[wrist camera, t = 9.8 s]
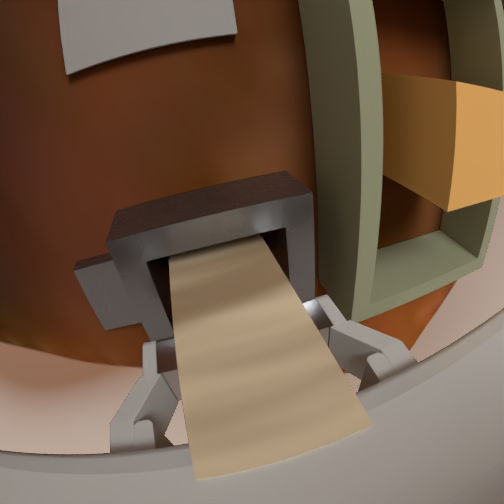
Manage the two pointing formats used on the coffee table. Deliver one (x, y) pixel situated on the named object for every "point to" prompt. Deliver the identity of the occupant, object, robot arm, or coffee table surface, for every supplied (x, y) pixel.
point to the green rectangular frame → (371, 156)
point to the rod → (252, 362)
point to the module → (443, 139)
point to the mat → (136, 27)
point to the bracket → (196, 245)
